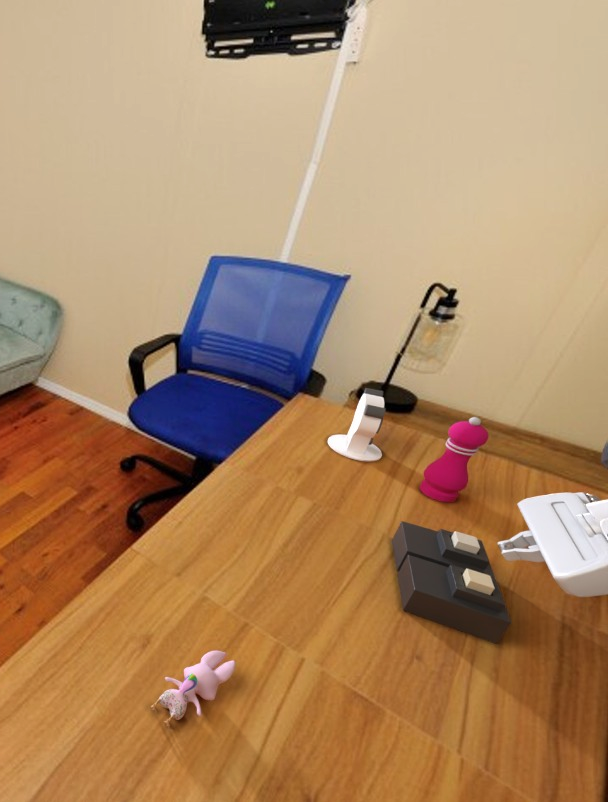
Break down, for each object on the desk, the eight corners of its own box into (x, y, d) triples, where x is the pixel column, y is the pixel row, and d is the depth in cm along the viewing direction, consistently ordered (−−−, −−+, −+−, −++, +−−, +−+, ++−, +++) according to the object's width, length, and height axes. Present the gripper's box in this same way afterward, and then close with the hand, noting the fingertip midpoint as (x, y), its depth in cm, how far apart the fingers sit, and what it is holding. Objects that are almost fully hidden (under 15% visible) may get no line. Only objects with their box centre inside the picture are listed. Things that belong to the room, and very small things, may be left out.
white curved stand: (383, 468, 121) (407, 415, 114) (327, 453, 127) (346, 402, 120) (380, 443, 130) (402, 393, 123) (328, 431, 136) (346, 382, 129)
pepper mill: (419, 478, 118) (455, 405, 108) (460, 493, 113) (502, 417, 104) (414, 493, 113) (451, 417, 104) (456, 508, 109) (499, 431, 99)
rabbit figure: (176, 743, 70) (247, 680, 76) (179, 723, 67) (252, 658, 72) (142, 703, 75) (211, 646, 80) (143, 683, 72) (215, 625, 77)
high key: (485, 583, 84) (490, 575, 83) (490, 596, 82) (495, 588, 81) (461, 575, 85) (466, 568, 84) (465, 588, 83) (470, 580, 82)
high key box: (483, 603, 88) (502, 575, 85) (496, 644, 81) (517, 615, 78) (397, 574, 94) (411, 547, 90) (402, 610, 87) (418, 582, 84)
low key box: (470, 564, 95) (487, 537, 92) (481, 599, 89) (500, 571, 85) (391, 540, 101) (405, 513, 98) (396, 570, 94) (411, 543, 91)
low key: (472, 544, 91) (476, 537, 90) (475, 555, 89) (480, 548, 88) (450, 537, 93) (454, 530, 92) (453, 548, 90) (458, 541, 90)
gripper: (581, 475, 82) (475, 500, 91) (641, 558, 67) (506, 578, 76) (605, 505, 82) (497, 528, 91) (670, 596, 67) (532, 612, 76)
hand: (501, 551), depth 84 cm, fingers closed
